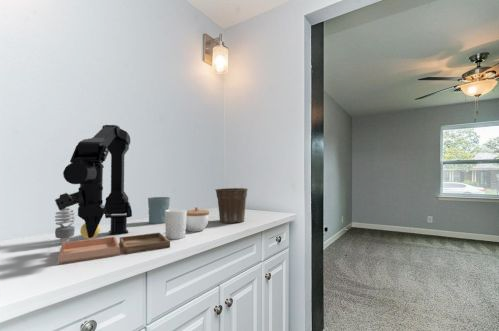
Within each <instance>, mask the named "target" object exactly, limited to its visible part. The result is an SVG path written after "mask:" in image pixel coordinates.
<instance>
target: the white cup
mask: <svg viewBox="0 0 499 331" xmlns="http://www.w3.org/2000/svg"><path fill="white" fill-rule="evenodd" d="M168 209H169V208H168ZM187 210H188V209H185V208H170V209H169V210H165V223H164V224H165V234H166V236H165V237H166V238H167V239H168V240H181V239H183V238H185V237H186V229H187V227H186V219H187Z"/></svg>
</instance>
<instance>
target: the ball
mask: <svg viewBox="0 0 499 331" xmlns="http://www.w3.org/2000/svg"><path fill="white" fill-rule="evenodd" d="M100 232H101V226H100V224H99V225H98V227H97V229H96V231H95V234H94V236H93V237H92V238H88V234H87V229H86V224H85V223H83V224H82V226H81V227H80V235H81V236H82V237H83V238H84V239H86V240H89V239H95V238H96V237H97V236H99V233H100Z"/></svg>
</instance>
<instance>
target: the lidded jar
mask: <svg viewBox="0 0 499 331" xmlns="http://www.w3.org/2000/svg"><path fill="white" fill-rule="evenodd" d="M186 210H187V219H186V229H188V231H189V232H200V231H201V232H202V231H204V230H205V228H206V227H207V226H208V223H209V218H210V211H209V210H207V209H198V207H194V209H186Z"/></svg>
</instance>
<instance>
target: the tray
mask: <svg viewBox="0 0 499 331" xmlns="http://www.w3.org/2000/svg"><path fill="white" fill-rule="evenodd" d="M119 246H120V248H121V250H122V251H123V253H124V255H128V254H135V253H136V254H137V253H142V252H143V253H144V252H148V251H155V250H161V249H168V248H169V249H170V247H171V241H170V239H167V238H166V236H164V235H163V234H161V232H153V233H146V234H138V235H129V236H128V235H127V236H121V237H119Z"/></svg>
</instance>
